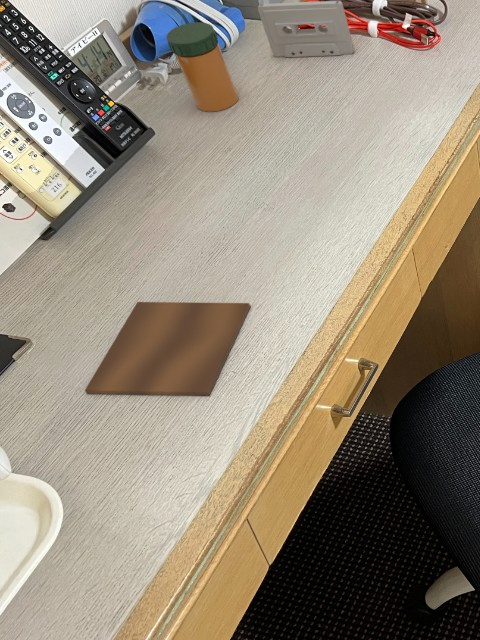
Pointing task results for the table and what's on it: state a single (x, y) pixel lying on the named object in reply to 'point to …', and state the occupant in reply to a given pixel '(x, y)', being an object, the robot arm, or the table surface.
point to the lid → (192, 39)
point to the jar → (209, 80)
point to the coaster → (170, 349)
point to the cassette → (306, 40)
